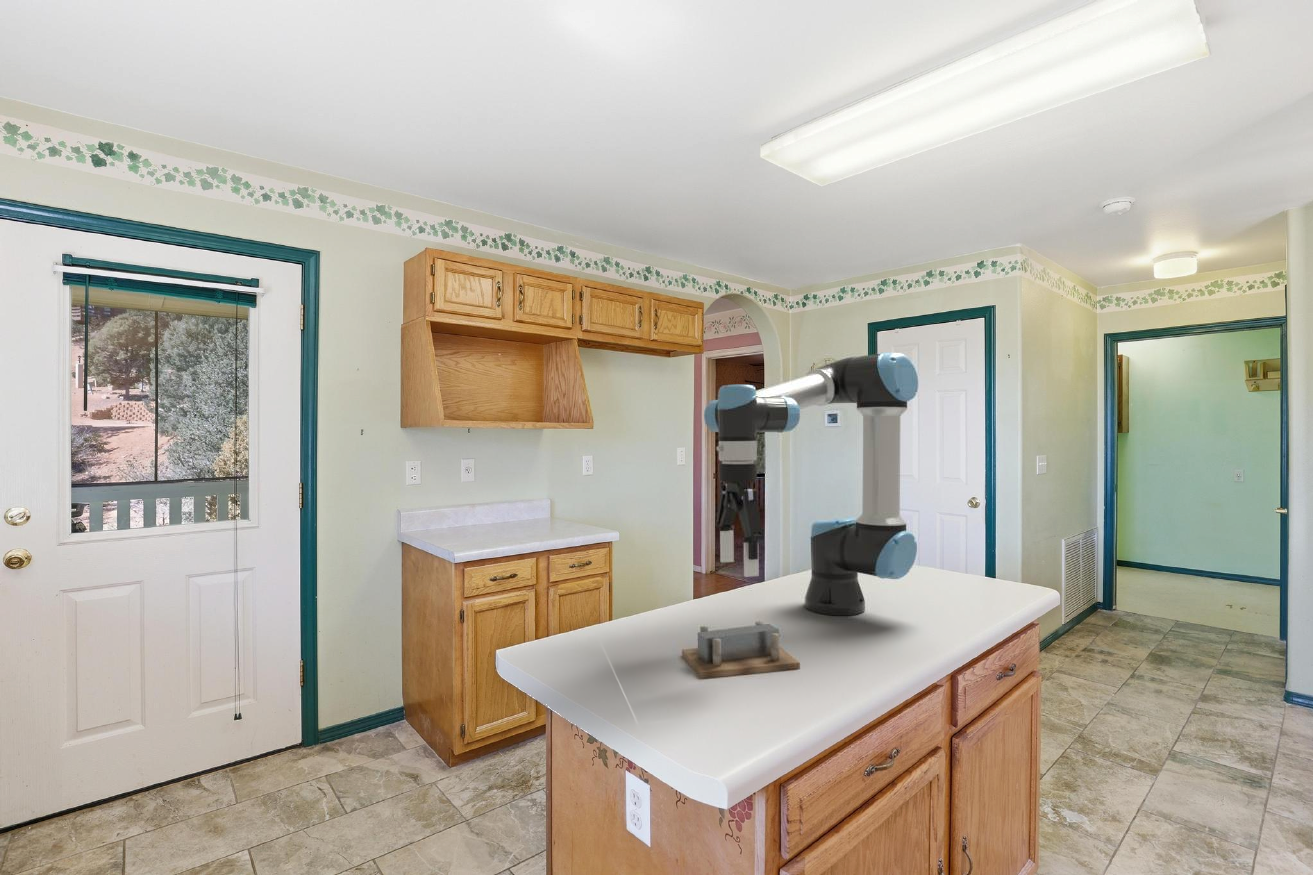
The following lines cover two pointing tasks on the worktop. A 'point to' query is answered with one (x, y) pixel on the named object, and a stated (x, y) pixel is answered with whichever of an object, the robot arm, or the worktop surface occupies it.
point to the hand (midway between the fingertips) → (738, 568)
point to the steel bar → (737, 643)
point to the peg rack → (739, 667)
